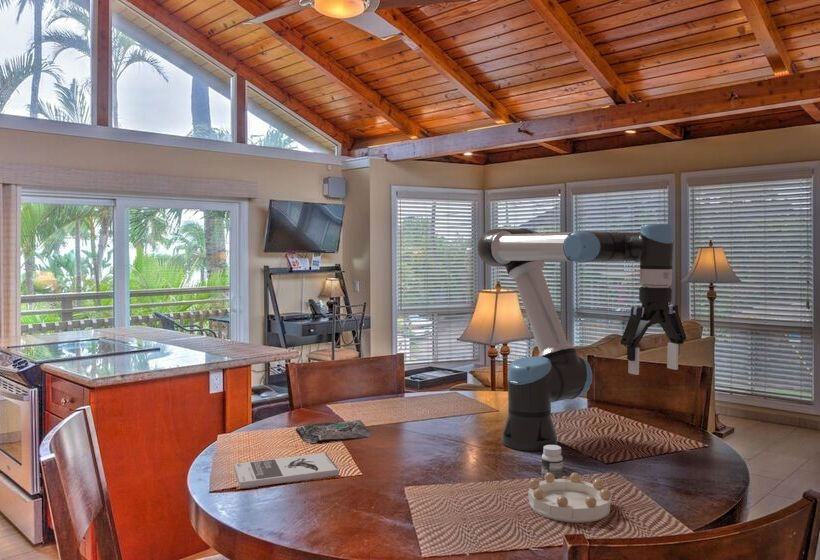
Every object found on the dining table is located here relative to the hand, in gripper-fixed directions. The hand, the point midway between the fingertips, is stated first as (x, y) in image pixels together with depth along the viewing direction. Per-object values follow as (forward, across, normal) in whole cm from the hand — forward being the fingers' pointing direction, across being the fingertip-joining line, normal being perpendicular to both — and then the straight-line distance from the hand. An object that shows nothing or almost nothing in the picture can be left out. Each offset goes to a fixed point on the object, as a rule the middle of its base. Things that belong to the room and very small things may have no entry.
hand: (653, 371), depth 157 cm
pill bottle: (+24, -31, +1) cm, 39 cm away
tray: (+23, -36, -11) cm, 45 cm away
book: (+25, -83, +37) cm, 94 cm away
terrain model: (+26, -61, +63) cm, 91 cm away
